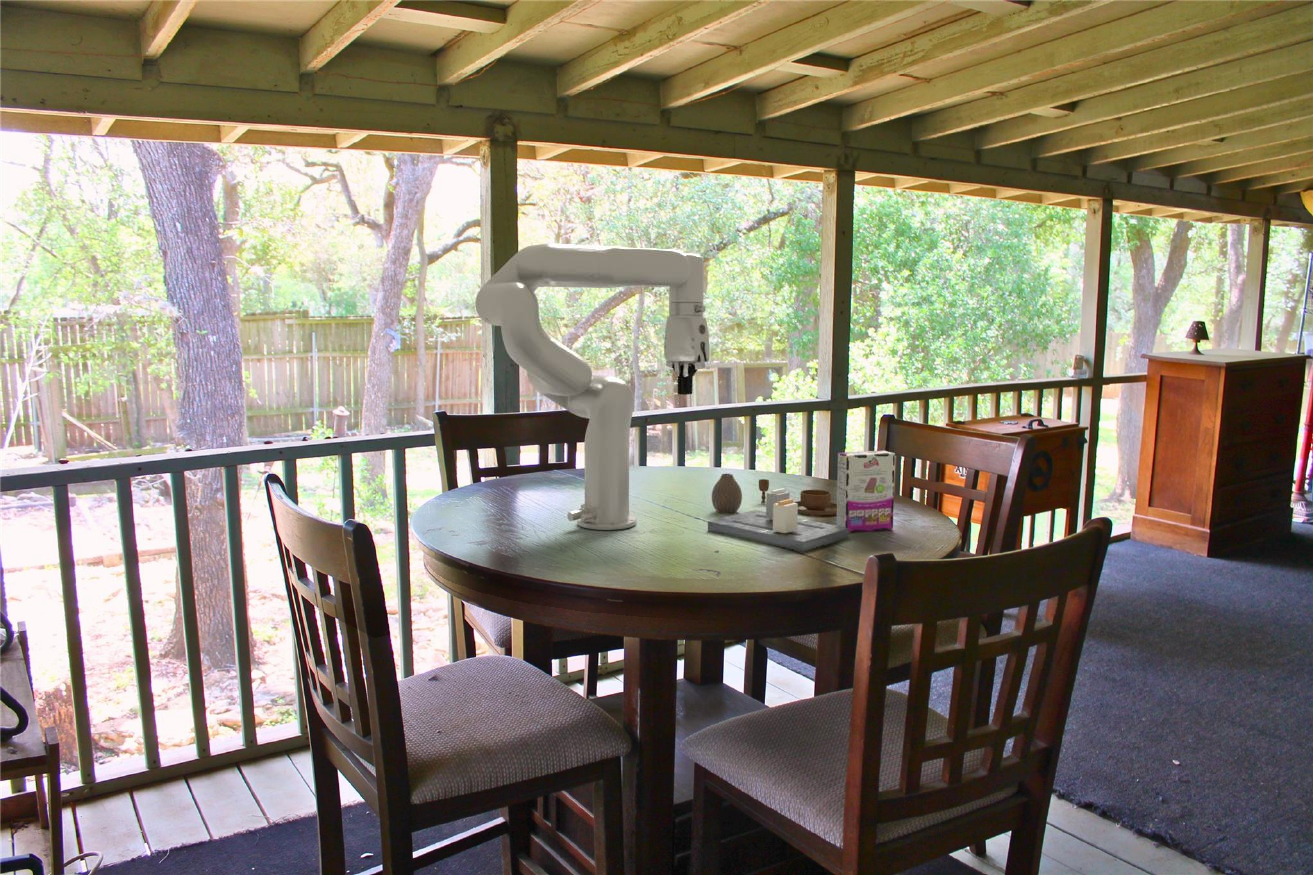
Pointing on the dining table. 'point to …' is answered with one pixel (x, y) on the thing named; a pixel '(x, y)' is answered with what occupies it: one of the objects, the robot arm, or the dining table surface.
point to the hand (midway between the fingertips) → (685, 394)
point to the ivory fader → (785, 516)
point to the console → (761, 530)
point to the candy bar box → (865, 490)
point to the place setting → (808, 500)
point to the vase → (726, 495)
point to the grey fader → (775, 500)
